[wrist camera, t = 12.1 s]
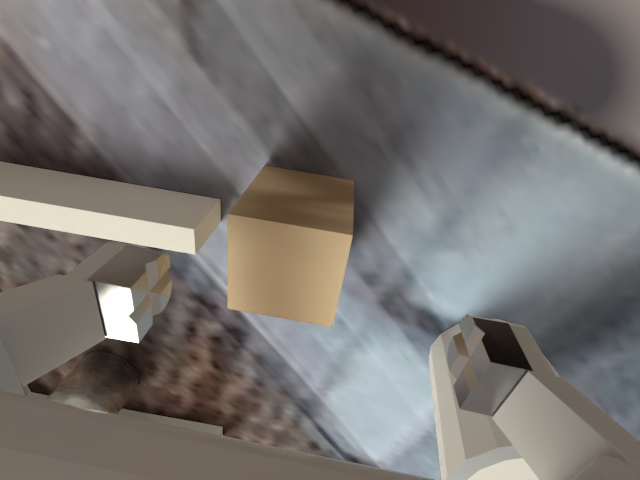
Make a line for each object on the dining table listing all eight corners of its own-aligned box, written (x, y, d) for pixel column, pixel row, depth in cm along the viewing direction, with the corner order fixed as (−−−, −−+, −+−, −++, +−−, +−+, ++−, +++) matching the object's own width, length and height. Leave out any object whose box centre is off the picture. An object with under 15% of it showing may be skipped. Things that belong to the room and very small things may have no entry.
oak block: (354, 180, 15) (353, 235, 11) (338, 255, 17) (332, 327, 13) (265, 164, 15) (228, 214, 11) (260, 241, 17) (227, 308, 13)
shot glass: (574, 346, 18) (680, 494, 12) (481, 407, 22) (528, 548, 16) (477, 288, 17) (542, 421, 11) (393, 362, 20) (408, 496, 14)
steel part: (135, 357, 22) (68, 450, 17) (142, 394, 25) (85, 487, 19) (76, 346, 23) (-8, 436, 17) (88, 384, 25) (16, 475, 19)
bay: (220, 199, 16) (194, 229, 13) (222, 435, 26) (207, 478, 24) (-109, 142, 16) (-198, 161, 14) (20, 398, 26) (-17, 437, 24)
